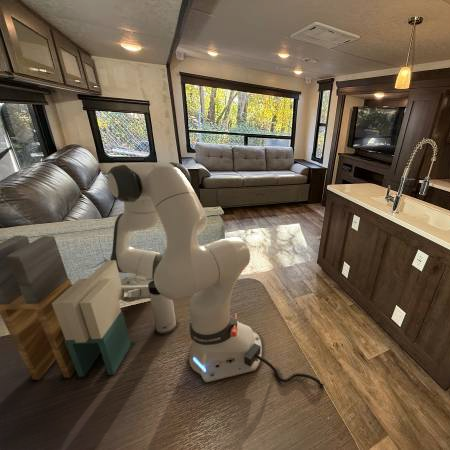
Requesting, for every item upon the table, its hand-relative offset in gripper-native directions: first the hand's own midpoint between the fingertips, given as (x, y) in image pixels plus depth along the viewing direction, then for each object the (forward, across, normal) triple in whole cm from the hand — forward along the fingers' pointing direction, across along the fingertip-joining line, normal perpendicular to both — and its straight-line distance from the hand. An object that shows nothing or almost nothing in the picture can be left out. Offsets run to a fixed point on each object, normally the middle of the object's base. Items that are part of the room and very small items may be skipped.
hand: (109, 294), depth 75 cm
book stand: (-2, -11, +19) cm, 22 cm away
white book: (+2, 0, +6) cm, 6 cm away
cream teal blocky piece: (-2, 0, +19) cm, 19 cm away
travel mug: (-12, +13, +14) cm, 22 cm away
